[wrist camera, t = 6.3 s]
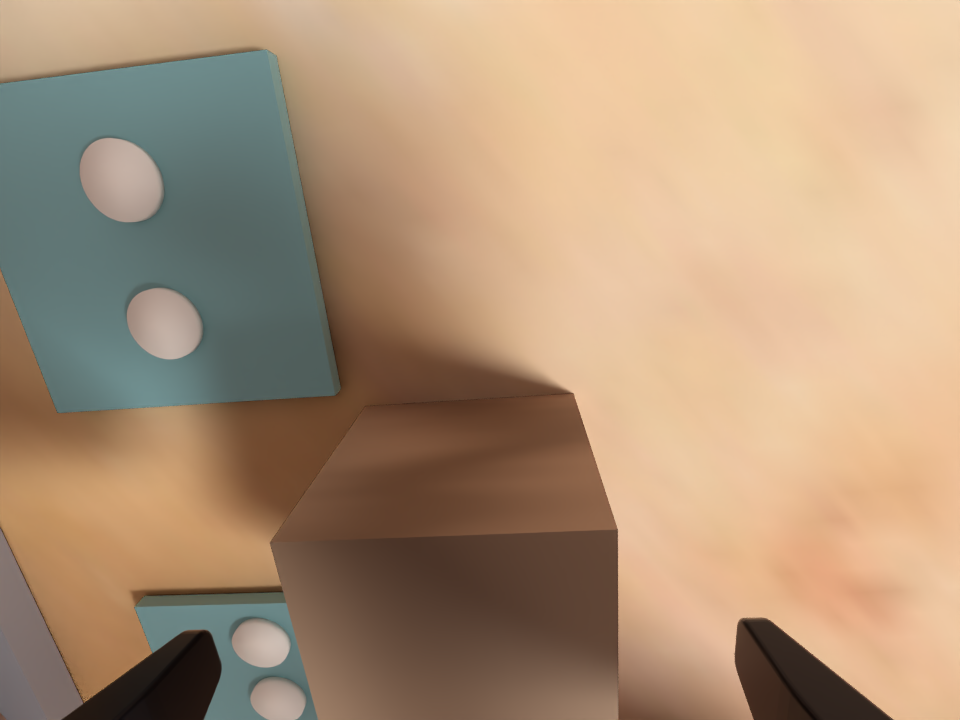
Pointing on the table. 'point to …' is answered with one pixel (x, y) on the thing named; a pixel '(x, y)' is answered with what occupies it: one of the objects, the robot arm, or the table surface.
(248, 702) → the pad three
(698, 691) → the table surface
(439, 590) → the brown cube
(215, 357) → the pad two
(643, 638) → the table surface
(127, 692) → the robot arm
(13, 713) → the board
